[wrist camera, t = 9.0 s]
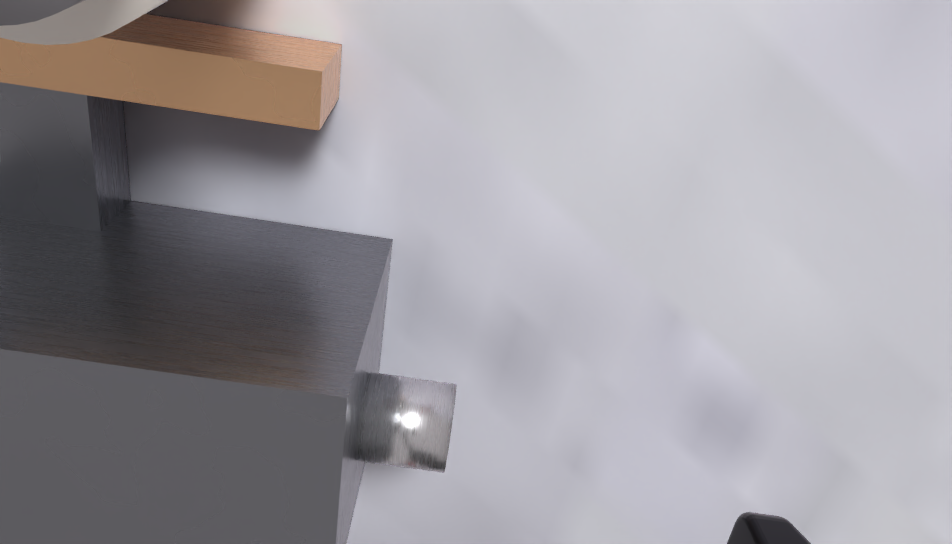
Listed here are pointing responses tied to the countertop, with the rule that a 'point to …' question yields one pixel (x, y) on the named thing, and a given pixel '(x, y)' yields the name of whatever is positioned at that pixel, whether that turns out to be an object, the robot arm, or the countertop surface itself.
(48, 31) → the white rounded cylinder
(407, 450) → the grey angular piece
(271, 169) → the countertop surface
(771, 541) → the robot arm
